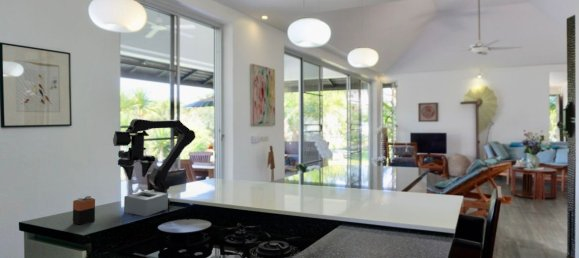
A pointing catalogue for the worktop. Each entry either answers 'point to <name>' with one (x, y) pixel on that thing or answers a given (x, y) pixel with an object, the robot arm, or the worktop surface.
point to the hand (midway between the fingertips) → (136, 178)
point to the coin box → (145, 203)
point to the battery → (84, 210)
